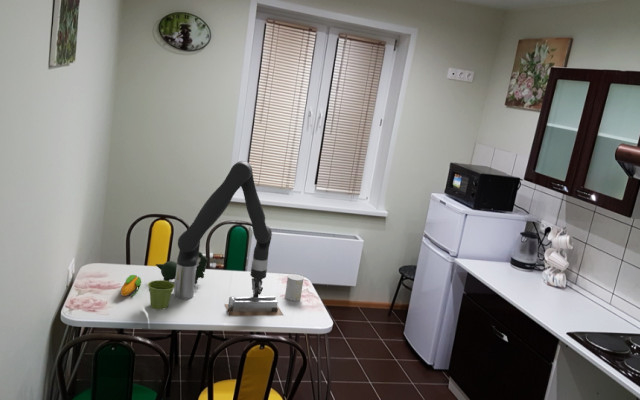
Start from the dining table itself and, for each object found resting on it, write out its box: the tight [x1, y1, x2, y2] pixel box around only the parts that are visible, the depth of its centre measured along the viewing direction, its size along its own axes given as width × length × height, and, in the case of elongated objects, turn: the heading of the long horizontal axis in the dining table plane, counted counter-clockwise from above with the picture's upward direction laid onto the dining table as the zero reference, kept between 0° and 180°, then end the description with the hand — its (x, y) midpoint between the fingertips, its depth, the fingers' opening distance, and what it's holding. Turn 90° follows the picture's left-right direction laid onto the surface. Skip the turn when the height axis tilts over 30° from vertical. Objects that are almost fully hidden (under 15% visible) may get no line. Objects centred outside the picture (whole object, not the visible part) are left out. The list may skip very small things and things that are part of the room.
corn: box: [120, 274, 142, 297], centre depth 259 cm, size 7×8×20 cm
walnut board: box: [224, 303, 284, 317], centre depth 259 cm, size 26×13×1 cm, turn 110°
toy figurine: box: [155, 251, 208, 285], centre depth 279 cm, size 9×19×25 cm
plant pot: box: [147, 279, 175, 310], centre depth 247 cm, size 12×12×11 cm
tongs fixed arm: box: [228, 296, 279, 312], centre depth 258 cm, size 24×4×6 cm, turn 110°
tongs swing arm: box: [235, 295, 276, 301], centre depth 261 cm, size 20×2×5 cm, turn 115°
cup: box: [284, 274, 305, 302], centre depth 280 cm, size 8×8×12 cm
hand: (255, 300), depth 264 cm, fingers closed
